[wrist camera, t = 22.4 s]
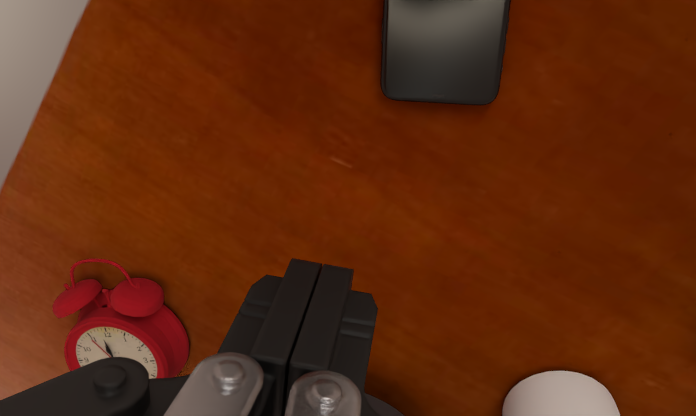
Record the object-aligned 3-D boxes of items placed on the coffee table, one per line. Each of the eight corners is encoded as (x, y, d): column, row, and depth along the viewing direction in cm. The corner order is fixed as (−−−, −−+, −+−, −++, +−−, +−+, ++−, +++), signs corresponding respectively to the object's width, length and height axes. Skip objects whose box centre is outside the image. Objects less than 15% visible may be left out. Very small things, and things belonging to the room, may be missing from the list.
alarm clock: (85, 415, 56) (2, 306, 47) (113, 359, 61) (43, 250, 51) (190, 417, 54) (126, 304, 45) (210, 359, 59) (156, 246, 49)
